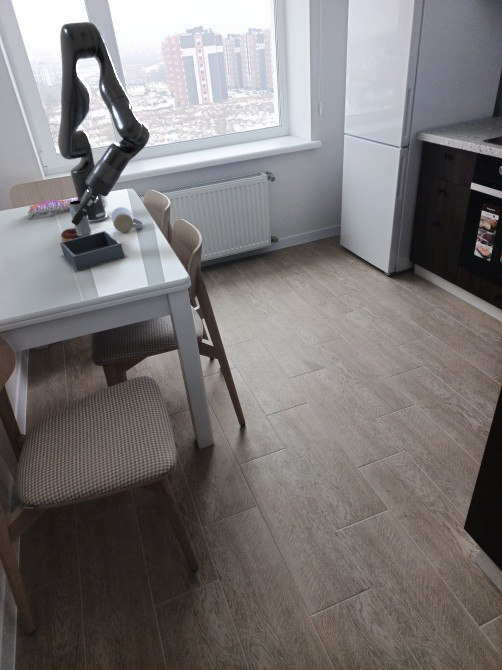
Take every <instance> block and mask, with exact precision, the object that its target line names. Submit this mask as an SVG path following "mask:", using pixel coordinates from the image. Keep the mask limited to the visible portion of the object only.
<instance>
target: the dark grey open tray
mask: <svg viewBox="0 0 502 670" xmlns="http://www.w3.org/2000/svg"><path fill="white" fill-rule="evenodd" d="M59 244H60V248H61V251H62V254H63V256H64V258H65V259H66V260H67V261H68V262H69V264H70V265H71V266H72V267H73V268H74V269H75V270H76V272H79V271H83V270H87V269H90V268H93V267H96V266H101V265H103V264H107V263H111V262H114V261H118V260H121V259H125V253H124V249H123V244H122V243H121V242H120V241H119V240H117V239H116V238H115V237H113V235H111V234H110V233H109V232H107V231H106V230H102V231H99V232H95V233H91V234H90V235H87V236H83V237H80V238H76V239H72V240H68V241H64V242H63V241H60V242H59Z"/></svg>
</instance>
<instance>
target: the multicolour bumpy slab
mask: <svg viewBox="0 0 502 670" xmlns="http://www.w3.org/2000/svg"><path fill="white" fill-rule="evenodd" d="M76 200H78V198H77V197H76V198H67V199H64V200H61V199H53V200H52V199H51V200H45V201H43V202H39V203H36V204H32V205H30V206H29V207H28V209H29V210H28V211H27V214H28V218H29V219H30V220H31V219H32V220H33V219H38V218H39V219H40V218H42V217H43V215H44V217H45V218H46V217H51V216H53V214H52V212H55V213H54V215H56V214H57V213H61V212H62V213H63V212H65V211H69V209H70V208H69V202H72V201H76ZM46 213H47V215H45V214H46ZM33 216H34V217H33ZM35 216H36V217H35Z"/></svg>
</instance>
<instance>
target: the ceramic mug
mask: <svg viewBox="0 0 502 670" xmlns="http://www.w3.org/2000/svg"><path fill="white" fill-rule="evenodd" d="M111 220H112V225H113V227H114V228H115V230H117V231H118V232H120V233H128V232H129V231H131V230H132V229H133V228H134V229H142V228H143V225H144V223H143V222H142V221H141V220H139V219H136V218H134V217H133V213H132V212H131V210H130V209H129V208H126V207H124V206H119V207H116V208H114V209H113V210H112V213H111Z"/></svg>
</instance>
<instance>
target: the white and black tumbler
mask: <svg viewBox="0 0 502 670" xmlns="http://www.w3.org/2000/svg"><path fill="white" fill-rule="evenodd" d="M81 201H82V200H75V201H73V200H72V202H69V208H68V209H69V212H70V214H71V218H72V219H73V218H74V216H75V215H76V213H77V210H78V209H79V208H80V203H81ZM83 204H84V203H83ZM82 210H83V211H84V212H85V211H86V210H85V209H84V208H83V209H82ZM90 224H91V223H89V220H88V216H86V217H83V218H82V220H81V221H80V223H79V224H78V225H75V224H73V225H74V228H76V232H77V235H78V236H87V235H91V234H93V233H92V231H93V230H92V228H91V225H90Z"/></svg>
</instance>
